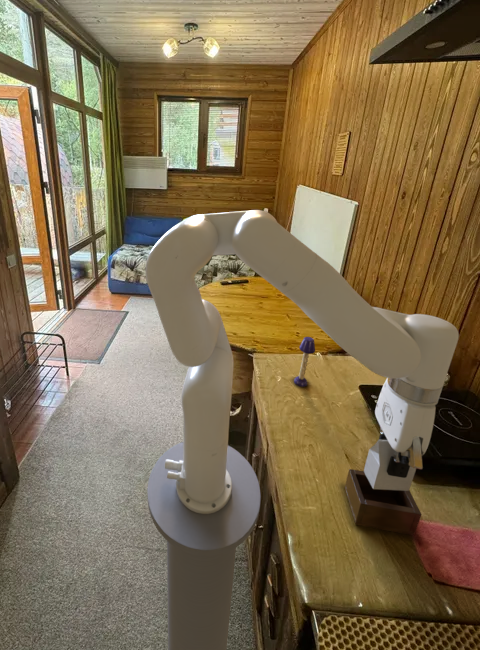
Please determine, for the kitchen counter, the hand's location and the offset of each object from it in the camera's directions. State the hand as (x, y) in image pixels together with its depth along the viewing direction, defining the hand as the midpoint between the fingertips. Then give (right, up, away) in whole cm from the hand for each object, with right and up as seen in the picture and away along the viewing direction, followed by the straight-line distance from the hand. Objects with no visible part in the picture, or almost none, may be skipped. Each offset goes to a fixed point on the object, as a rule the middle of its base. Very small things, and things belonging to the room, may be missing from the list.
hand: (390, 462), depth 59 cm
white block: (0, -5, +2) cm, 5 cm away
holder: (0, -12, +4) cm, 13 cm away
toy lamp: (-2, 0, +42) cm, 42 cm away
